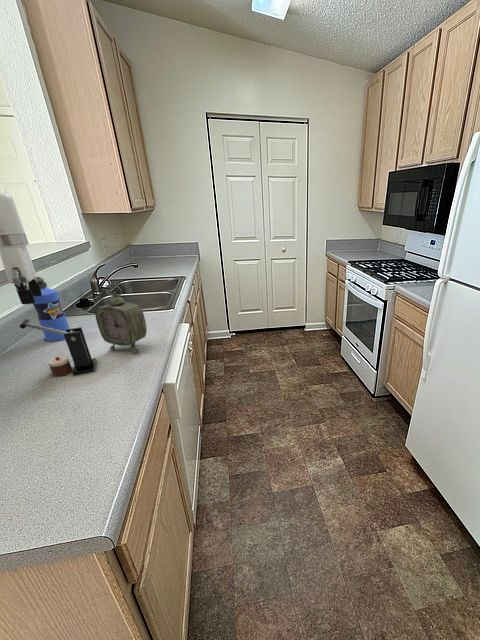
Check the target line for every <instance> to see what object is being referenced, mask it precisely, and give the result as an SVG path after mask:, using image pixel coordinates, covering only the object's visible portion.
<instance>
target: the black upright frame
mask: <svg viewBox="0 0 480 640" xmlns="http://www.w3.org/2000/svg"><path fill="white" fill-rule="evenodd" d="M71 330H72V331H76V332H70V331H71ZM66 332H69V333H64V337H65V339H64V340H65V342H66V345H67V347H68V350H69V353H70V356H71V359H72V361H73V364H74V367H73V369H72V375H73V376H79V375H80V376H81V375H84V374H91V373H94V372H96V371H95V370H96V365H97V358H96V357H95V358H93V357H92V355H91V351H90V349H89V345H88V343H87V340H86V337H85V334H84V332H83V328H82V326H80V327H79V326H78V327H74V328H73V327H72V328H70V329H66Z"/></svg>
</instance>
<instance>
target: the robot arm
mask: <svg viewBox="0 0 480 640" xmlns="http://www.w3.org/2000/svg"><path fill="white" fill-rule="evenodd" d="M28 246H30V244H29V240H28V238H27V234H26V232H25V229H24V227H23V223H22V221H21V218H20V215H19V212H18V209H17V206H16V204H15V201H14V198H13V197H12V196H11V194H9V193H8V192H0V259H1V262H2V266H3V269H4V272H5V274H6V277H7V280H8V282H9V283H10V284H13V285H14V287H15V290H16V293H17V295H18V299H19V301H20V303H21V305H33V304H34V303H35V300H34V297H33V296H41V295H42V292H41V290H40V287H39V284H38V282H37V279H36V277H37V274H36V273H37V272H36V270H35V266H34V264H33V261H32V258H31V256H30V253H29V251H28V248H27V247H28Z"/></svg>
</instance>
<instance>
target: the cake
mask: <svg viewBox="0 0 480 640" xmlns="http://www.w3.org/2000/svg"><path fill="white" fill-rule="evenodd" d="M47 364H48V367H49V370H50V372H51V374H52V376H53V377H62V376H67V375H69V374H70V373H73V366H72V365H71V362H70V359H69V357H68V356H63V355H62V356H56V357H53V358H51V359H49V360H48V361H47Z"/></svg>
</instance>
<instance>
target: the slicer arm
mask: <svg viewBox="0 0 480 640" xmlns="http://www.w3.org/2000/svg"><path fill="white" fill-rule="evenodd" d="M19 328H20V329H26V328H31V329H36V330H40V331H43V330H44V331H48V332H52V333H57V334H61V335H64V333H69V332H65V331H61V330H57V329H53V328H49V327H44V326H41V325H40V324H37V323H36V324H35V323H32V322H30V319H27V318H25V319H23V321H22V322H21V323H20V324H19ZM70 332H76V331H72V330H71V331H70Z"/></svg>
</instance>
